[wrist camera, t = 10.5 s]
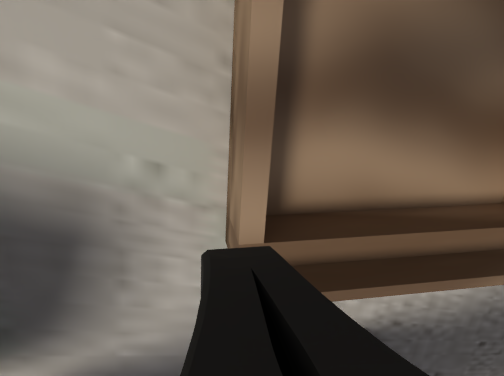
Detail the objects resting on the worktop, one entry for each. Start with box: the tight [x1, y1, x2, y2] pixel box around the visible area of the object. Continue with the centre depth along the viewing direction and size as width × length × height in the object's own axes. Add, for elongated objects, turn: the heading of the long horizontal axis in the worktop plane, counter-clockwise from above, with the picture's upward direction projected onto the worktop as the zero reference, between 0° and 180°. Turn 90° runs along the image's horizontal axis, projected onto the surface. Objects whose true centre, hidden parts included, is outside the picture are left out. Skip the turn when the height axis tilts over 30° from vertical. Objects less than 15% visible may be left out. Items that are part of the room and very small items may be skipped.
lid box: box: [226, 0, 504, 302], centre depth 17 cm, size 13×15×5 cm
